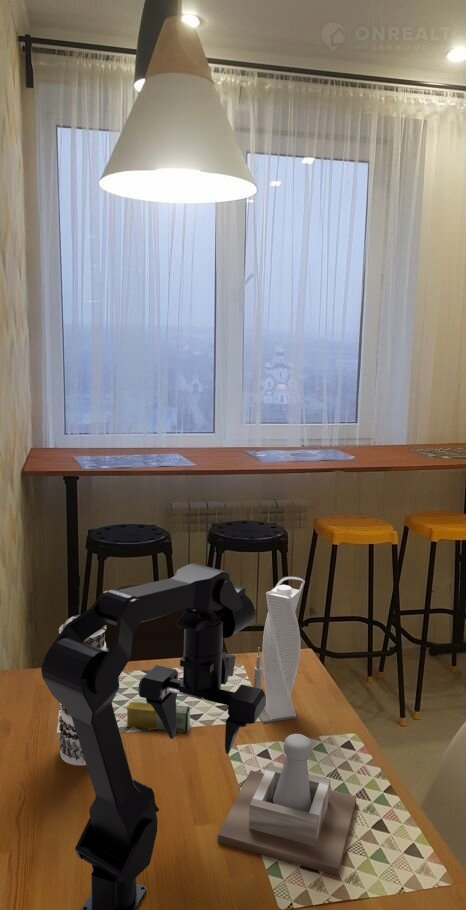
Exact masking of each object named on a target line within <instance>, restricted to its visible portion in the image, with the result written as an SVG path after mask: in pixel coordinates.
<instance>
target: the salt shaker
mask: <svg viewBox="0 0 466 910" xmlns="http://www.w3.org/2000/svg"><path fill="white" fill-rule="evenodd" d="M312 750H313V743H312V741H311V740H310V738H309V737H307V736H306V735H303V734H301V733H293V734H290V735H288V736H287V737H285V739H284V743H283V753H284V755H285V758H284V763H283V766H282V767H281V768H282V772H281V775H280V778H279V781H278V785H277V788H276V791H275V794H274V798H273V803H274V804H277V805H281V806H285V807H289V808H292V809H296V810H300V811H304V812H308V811H309V809H310V804H311V798H310V787H309V777H308V774H309V770H308V769H309V768H308V759H310V757H311V756H312Z"/></svg>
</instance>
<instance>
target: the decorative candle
mask: <svg viewBox="0 0 466 910" xmlns="http://www.w3.org/2000/svg"><path fill="white" fill-rule="evenodd" d="M80 615H81V614H77V615H73V616H71V617H70V618H68V619H66V621H65V623H63V624H61V625H60V627H59V628H58V633H59V634H60V633H61V632H62V630H63V629H64V628H65V626H66V625H67V624H68V623H69V622H71V621H72V620H74V619H75V618H77V617H78V616H80ZM107 628H108V627H107V624H106V625H105V626H104V627H103V628H101V629H100V630H98V631H97V632H95V633H94V634H93V635H91V636H90V637H88V638H87V639H85V640H84V641H83V643H86V644H89V645H91V646H94V647H97V648H99V649H102V650H105V651H107V652H108V651H109V650H110V648H109V647H107V643H106V639H105V638H106V634H105V632H106V630H107ZM58 722H59V731H60V733H59V736H58V737H59V749H60V750H59V754H60V758H61V760H62V761H64V762H65V763H66V764H69V765H72V766H83V767H84V766H87V765H86V762H85V759H84V756H83V752H82V749H81V746H80V743H79V740H78V736H77V733H76V730H75V727H74V723H73V720H72V717H71V715H70V713H69V712H68V711H67V710H66V709H65V708H64V707H63V706H62V705H61V706H60V715H59V719H58Z"/></svg>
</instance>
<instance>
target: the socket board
mask: <svg viewBox="0 0 466 910" xmlns="http://www.w3.org/2000/svg"><path fill="white" fill-rule="evenodd" d="M282 768H283V767H281V766H276V765H272V764H268V766H267V767H266V769H265V771H264V772H259V771H254V770H249V773H248V775H247V776H246V779H245V780H244V782H243V785H242V786H241V789H240V790H239V792H238V794H237V795H236V798H235V801H234V802H233V804H232V806H231V808H230V810H229V812H228V814H227V816H226V818H225V820H224V821H223V824H222V825H221V828H220V829H219V832H218V833H217V842H218V843H221V844H225V845H228V846H231V847H236V848H238V849H241V850H242V849H243V850H245V851H249V852H251V853H252V852H253V853H256V854H259V855H262V856H266V857H270V858H274V859H278V860H282V861H284V862H288V863H292V864H294V865H298V866H303V867H305V868H310V869H313V870H316V871H319V872H323V873H326V874H330V875H333V876H336V877H338V876H339V875H340V874H339V873H340V869H341V865H342V862H343V857H344V854H345V848H346V845H347V841H348V838H349V837H348V836H349V833H350V828H351V824H352V821H353V817H354V813H355V808H356V804H357V795H353V794H349V793H345V792H340V791H336V790H333V789H331V779H330V778H328V777H323V776H319V775H314V774H310V773H308V777H309V787H310V798H311V804H310V809H309V811H308V812H304V811H300V810H296V809H292V808H289V807H285V806H281V805H277V804H274V803H273V798H274V794H275V791H276V788H277V785H278V781H279V778H280V775H281V772H282Z"/></svg>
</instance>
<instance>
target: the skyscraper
mask: <svg viewBox="0 0 466 910" xmlns="http://www.w3.org/2000/svg"><path fill="white" fill-rule="evenodd" d="M288 580H297V581H301V585H300V587H299V589H296V588H292V587H291V586H290V585H287V584H282V583H283V582H284V581H288ZM305 583H306V581H305V579H303V578H301V577H299V576H284V577H283V578H281V579H280V580H279V581H278V582H277V583H276V585H275V586H274V587H273V588H272V589H271V590H270V591H266V592H265V598H266V604H267V605H266V606H267V610H268V612H267V615H266V619H265V622H264V623H265V624H264V629H263V638H262V653H261V655H262V656H261V655H260V652H261V651H260V650H261V649H260V648H261V647H257V655H256V666H254V679H253V681H254V683H253V687H255V688H259V689H262V673H263V682H264V683H263V684H264V693H265V695H266V706H265V708H264V709H263V711H262V712H261V714H260V715H259V717H258V718H259V720H260V722H261V723H262V724H267V723H273V722H274V723H275V722H280V721H285V720H286V721H287V720H292V719H296V718H297V714H296V711H295V707H294V705H293V702H292V697H291V695H292V690H293V687H294V684H295V681H296V677H297V674H298V669H299V664H300V660H301V659H300V657H301V633H300V626H299V622H298V618H297V614H296V613H297V612H296V611H297V606H298V604H299V600H300V597H301V594H302V590H303V588H304V586H305ZM261 657H262V667H261ZM262 690H263V689H262Z"/></svg>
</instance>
